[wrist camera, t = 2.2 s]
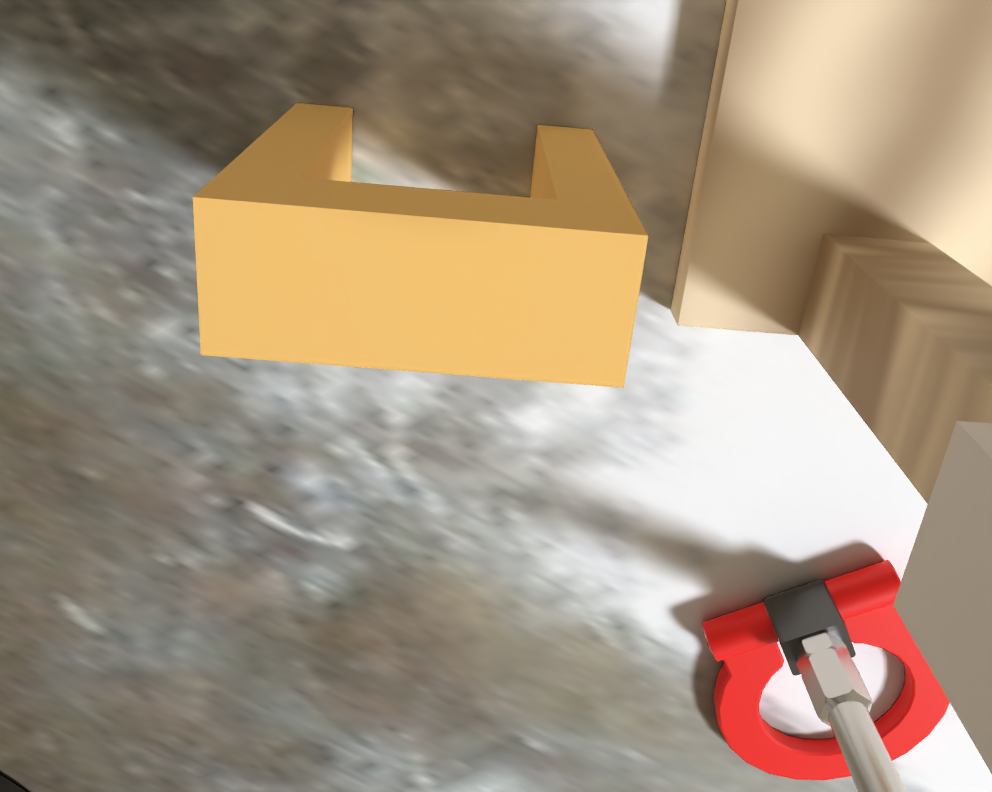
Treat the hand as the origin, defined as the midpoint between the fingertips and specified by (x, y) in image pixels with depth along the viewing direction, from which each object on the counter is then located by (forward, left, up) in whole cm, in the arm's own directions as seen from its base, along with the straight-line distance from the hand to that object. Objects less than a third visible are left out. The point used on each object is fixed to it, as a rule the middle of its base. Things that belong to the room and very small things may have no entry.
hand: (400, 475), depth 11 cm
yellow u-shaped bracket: (0, 0, -17) cm, 17 cm away
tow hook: (+15, -17, -17) cm, 28 cm away
